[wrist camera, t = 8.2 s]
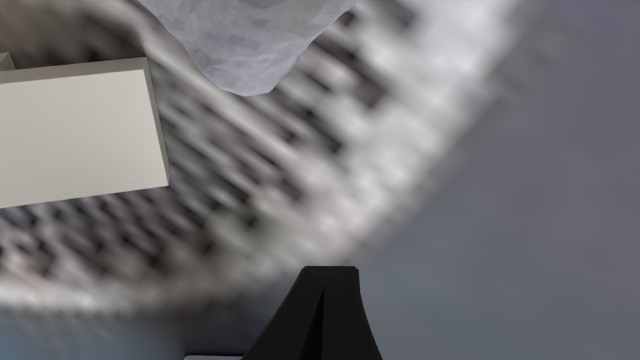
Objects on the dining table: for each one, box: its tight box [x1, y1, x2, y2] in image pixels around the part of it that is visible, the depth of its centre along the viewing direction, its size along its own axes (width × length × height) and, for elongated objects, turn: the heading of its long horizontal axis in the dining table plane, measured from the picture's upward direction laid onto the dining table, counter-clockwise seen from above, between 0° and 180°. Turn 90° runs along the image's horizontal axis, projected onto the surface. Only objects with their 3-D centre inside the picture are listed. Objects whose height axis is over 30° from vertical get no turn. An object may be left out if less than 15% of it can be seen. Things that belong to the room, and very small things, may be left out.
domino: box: [0, 57, 170, 208], centre depth 22 cm, size 5×2×8 cm
